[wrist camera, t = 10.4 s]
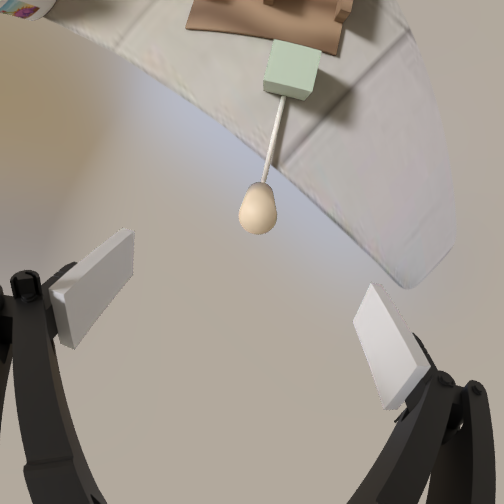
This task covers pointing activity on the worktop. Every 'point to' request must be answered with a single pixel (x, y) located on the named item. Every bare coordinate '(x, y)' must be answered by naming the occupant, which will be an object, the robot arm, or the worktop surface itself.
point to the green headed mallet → (278, 123)
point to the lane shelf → (275, 20)
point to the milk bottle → (26, 8)
